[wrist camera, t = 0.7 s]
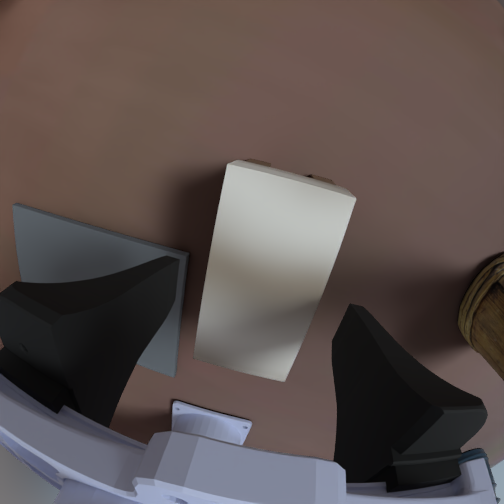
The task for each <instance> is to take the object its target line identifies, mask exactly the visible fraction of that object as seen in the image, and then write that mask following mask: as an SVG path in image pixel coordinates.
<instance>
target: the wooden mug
mask: <svg viewBox="0 0 504 504" xmlns="http://www.w3.org/2000/svg"><path fill="white" fill-rule="evenodd" d="M458 326H459V329H460V331H461V333H462V335H463V337H464V338H465V339H466V341H467V342H468V343H469V345H470V346H471V348H473V349H474V350H475V351H476V352H477V353H480V354H481V355H482V356H483V358H484V359H485V360H486V361H487V362H488V363H489V364H490V365H491V367H492V368H493V369H494V370H495V371H496V372H497V373H498V375H499V376H500V377H501V378H502V379H503V380H504V254H502V255H501V256H500V257H498V258H496V259H494V260H493V261H492V262H491V263H490V264H489V265H488V266H486V267H485V268H483V269H482V270H481V272H480V273H479V274H478V275H477V277H476V278H475V279H474V280H473V282H472V284H471V285H470V287H469V288H468V290H467V292H466V294H465V296H464V298H463V300H462V303H461V305H460V311H459V318H458Z"/></svg>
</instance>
